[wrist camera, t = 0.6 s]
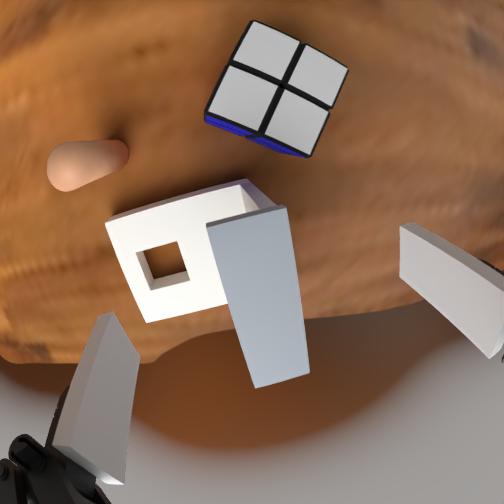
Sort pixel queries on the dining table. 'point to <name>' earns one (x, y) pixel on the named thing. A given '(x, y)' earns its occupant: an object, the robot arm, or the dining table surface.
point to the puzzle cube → (276, 91)
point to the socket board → (190, 244)
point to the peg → (85, 162)
